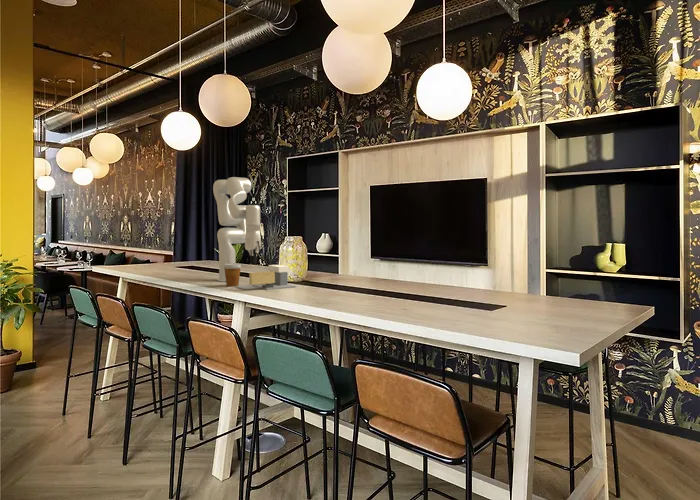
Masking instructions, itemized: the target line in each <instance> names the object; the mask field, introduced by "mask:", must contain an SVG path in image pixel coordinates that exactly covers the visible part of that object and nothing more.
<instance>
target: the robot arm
mask: <svg viewBox="0 0 700 500" xmlns="http://www.w3.org/2000/svg"><path fill="white" fill-rule="evenodd" d="M212 187H213V188H212V190H213V196H214V199H215V201H216V205H217V208H216V209H217V216H218V217H217V218H218V223H219V225H221V226H224V227H223V228H222V227H221V228H219V229H218V231H217V242H218V270H219V271H218V273H219V274H218V277H217V278H216V281H217V282H223V283H224V282H225V283H226V277H225V269H224V264H232V263H236V262H237V261H236V257H237V256H236V250H235V248H234V246H233V244H244V249H245V250H246V251H247V252H248V253H249V263H250V264H257V263H258V254H259V252H260V250H261V249H262V239H261V207H260V205H256V204H248V205H242V203H243V202H245V200H247V197H248V195H247V194H248V193H250V192H251V190H252V182H251V181H250V179H249V178H247V177H237V176H232V177H228V178H227V179H217V180H215V181H214V183H213V186H212ZM227 195H229V196H230V198H229V197H228V196H227ZM239 204H240V205H239ZM226 226H227V227H226ZM228 226H229V227H228ZM236 264H237V263H236Z"/></svg>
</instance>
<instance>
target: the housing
mask: <svg viewBox="0 0 700 500" xmlns="http://www.w3.org/2000/svg"><path fill="white" fill-rule="evenodd" d="M288 273H289V272H275V283H270V285H266V284H255V285H251V286H254V287H258V288H260V289H261V290H265V291H269V290H281V289H291V288H293V289H294V288H297V285H295V284H290V283H288V281H289V280H288V278H289V277H288Z"/></svg>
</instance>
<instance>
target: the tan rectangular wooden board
mask: <svg viewBox="0 0 700 500" xmlns="http://www.w3.org/2000/svg"><path fill="white" fill-rule="evenodd" d="M248 276H249V280H248V281H249V282H248V283H249V285H250V286H252V285H255V284H266V285H270V283H275V272H274V271H256V272H255V271H254V272H253V271H252V272H249V274H248Z"/></svg>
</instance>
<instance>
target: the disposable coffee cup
mask: <svg viewBox="0 0 700 500" xmlns="http://www.w3.org/2000/svg"><path fill="white" fill-rule="evenodd" d="M241 268H242V265H241V263H232V264H224V269H225V277H226V282H225V284H226V287H231V286H233V287H235V286H240V285H239V282H240V274H241Z"/></svg>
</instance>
